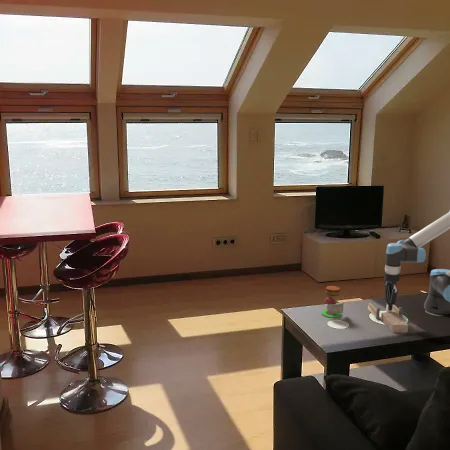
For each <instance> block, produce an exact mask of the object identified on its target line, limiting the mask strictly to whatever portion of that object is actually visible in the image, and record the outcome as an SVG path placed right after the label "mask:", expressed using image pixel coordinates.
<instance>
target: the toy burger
mask: <svg viewBox="0 0 450 450" xmlns="http://www.w3.org/2000/svg"><path fill="white" fill-rule="evenodd" d="M340 292H341V288H340V287H339V286H336V285H327V286H326V287H325V295H326V296H327V297H325V299H324V300H323V302H324V303H325V304H326V305H327V306H326V309H323V310H322V311H321V315H322V316H324V317H326V318H331V319H332V318H333V319H335V318H341V316H342V313H344V304H345V303H344V302H345V301H344V302H342V303H339V304H337V302H336V300H335V299H334V298H333V297H338V296H340V294H341V293H340Z"/></svg>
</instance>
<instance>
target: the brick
mask: <svg viewBox="0 0 450 450" xmlns="http://www.w3.org/2000/svg"><path fill="white" fill-rule="evenodd" d="M380 313H381V316H380V320H381V321H382V323H383V324H384V325H385V326H386V327H387V328H388V329H389V330H390V331H391V332H392V333H394V334H395V333H408V330H409V324H408V323H407V322H406V321H405V320H404V319H403V317H402V316H401V317H400V316H399V314H398V313H397V312H386V311H385V312H380Z"/></svg>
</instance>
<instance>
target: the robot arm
mask: <svg viewBox="0 0 450 450" xmlns="http://www.w3.org/2000/svg"><path fill="white" fill-rule="evenodd" d="M449 230H450V210H449V211H448V212H446V213H445V214H444V215H442V216H440V217H439V218H437V219H436V220H435V221H433V222H432V223H429V224H428V225H426V226H425V227H424V228H422V229H420V230H419V231H417V232H416V233H414V234H413V235H411V236H409V237H408V238H406V239H401V240H398V241H397V242H391V243H388V244H387V246H386V250H385V263H384V264H385V266H384V277H383V279H384V280H385V281H384V282H383V283H384V300H385V303H386V308H385V312H392V307H393V305H395V306H396V301H397V296H398V292H399V288H397V282H399V281H400V273H401V268H402V267H401V265H402V263H424V262H425V261H426V258H427V251H426V249H425V248H423V247H424V246H425V245H426V244H428V243H429V242H431V241H432V240H434V239H436V238H437V237H439V236H440V235H442V234H444V233H446V232H447V231H449ZM428 288H429V289H428V296H427V298H426V300H425V301H424V304H423V308H424V310H425V309H426V310H425V311H427V312H430V313H432V314H435V313H437V314H436V315H443V314H446V315H450V269H446V268H435V269H432V270H431V271H430V274H429V286H428Z"/></svg>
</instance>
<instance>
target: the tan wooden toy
mask: <svg viewBox="0 0 450 450" xmlns="http://www.w3.org/2000/svg"><path fill="white" fill-rule="evenodd" d="M380 310H381V309H380V307H375V306H374V305H373V304H372V303H371V302H368V303H367V311H368V312H369V313H370V312H371V313H370V314H371V315H372V316H373V317H374V318H375V320H380V313H381V311H380ZM392 312H397V313H398V314H399V316H400V317H401V318H402V314H403V307H401V306H399V307H397V306H396V304H395V305H393V307H392Z"/></svg>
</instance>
